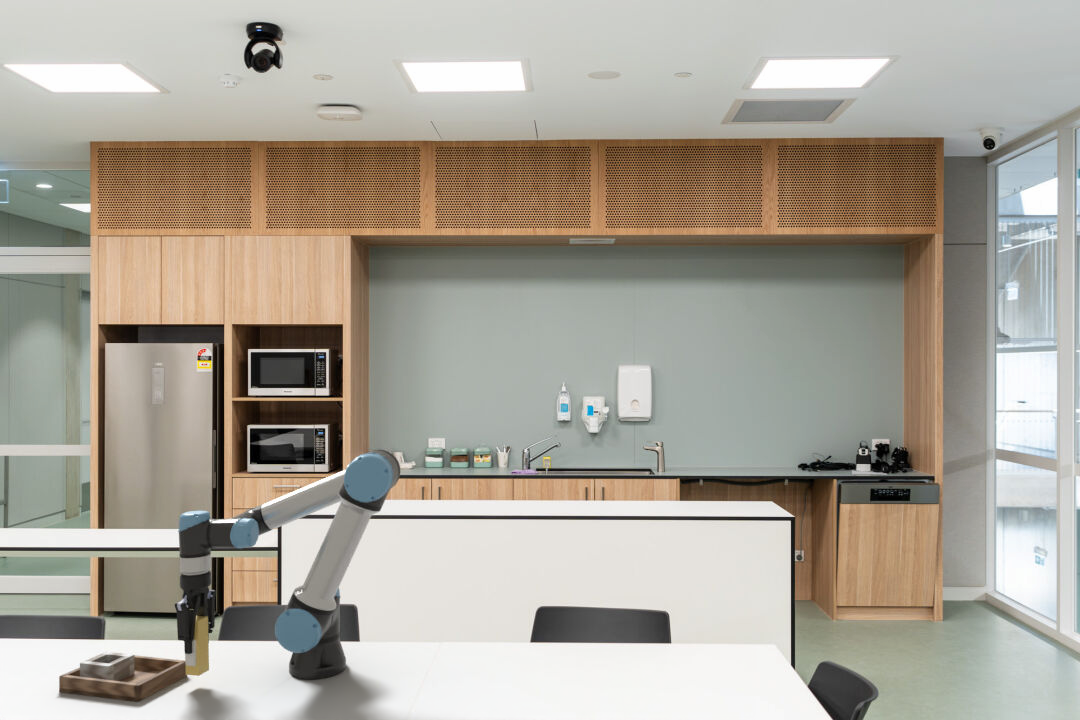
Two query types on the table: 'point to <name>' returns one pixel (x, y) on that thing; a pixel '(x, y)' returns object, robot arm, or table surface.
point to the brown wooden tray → (122, 676)
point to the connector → (200, 647)
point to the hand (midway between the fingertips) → (197, 661)
